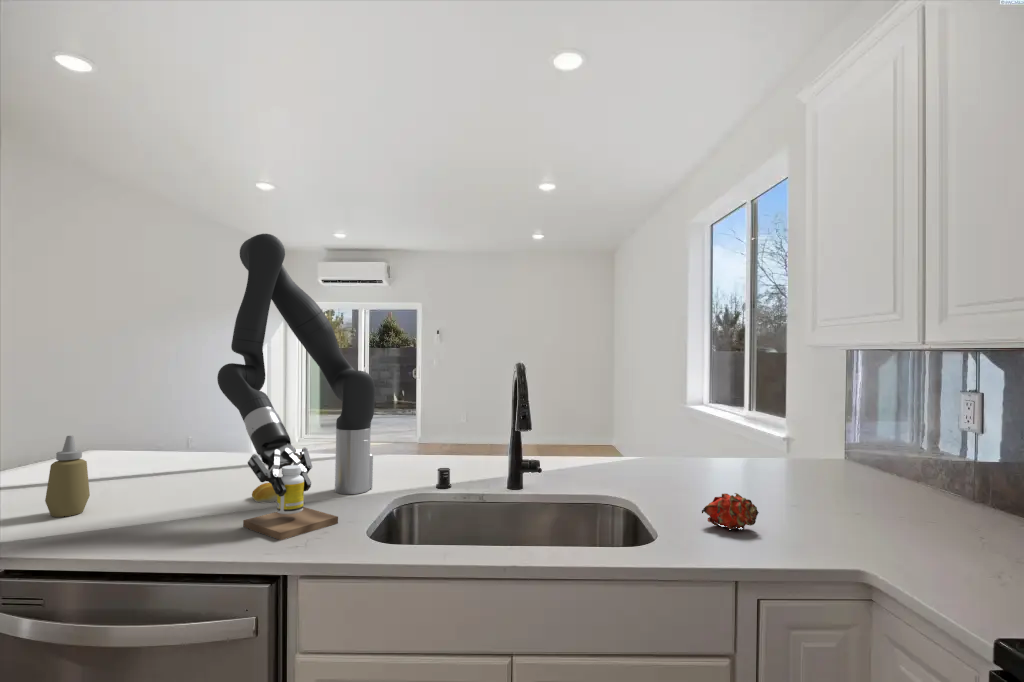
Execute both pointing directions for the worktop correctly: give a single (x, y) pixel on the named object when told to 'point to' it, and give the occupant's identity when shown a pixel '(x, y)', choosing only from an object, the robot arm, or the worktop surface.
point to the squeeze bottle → (67, 482)
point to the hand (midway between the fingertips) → (295, 491)
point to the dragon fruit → (731, 511)
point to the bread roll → (264, 493)
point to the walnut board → (290, 523)
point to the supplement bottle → (291, 491)
